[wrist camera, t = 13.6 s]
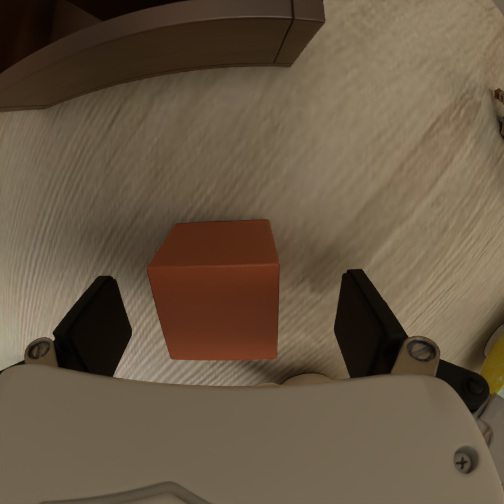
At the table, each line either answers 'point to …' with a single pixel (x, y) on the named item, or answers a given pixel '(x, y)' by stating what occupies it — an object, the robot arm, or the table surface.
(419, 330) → the table surface
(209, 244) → the terracotta block
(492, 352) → the bowl
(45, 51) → the walnut bin
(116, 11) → the walnut block
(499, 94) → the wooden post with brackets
